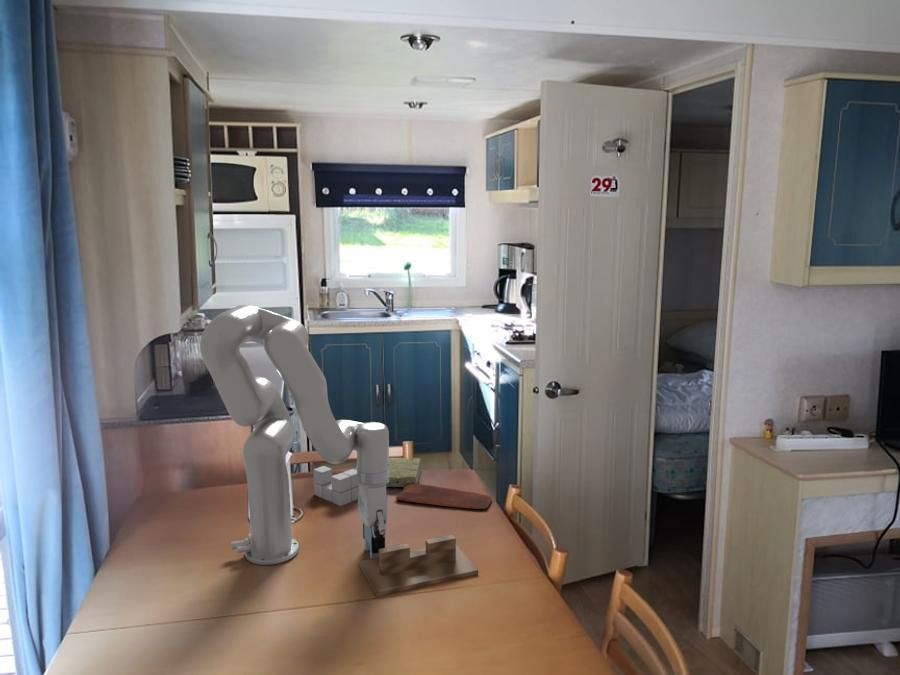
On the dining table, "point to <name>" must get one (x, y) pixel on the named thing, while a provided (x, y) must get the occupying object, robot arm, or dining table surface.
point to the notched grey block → (369, 540)
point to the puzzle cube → (336, 485)
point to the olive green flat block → (403, 471)
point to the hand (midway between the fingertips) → (374, 544)
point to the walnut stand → (417, 566)
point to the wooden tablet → (443, 496)
